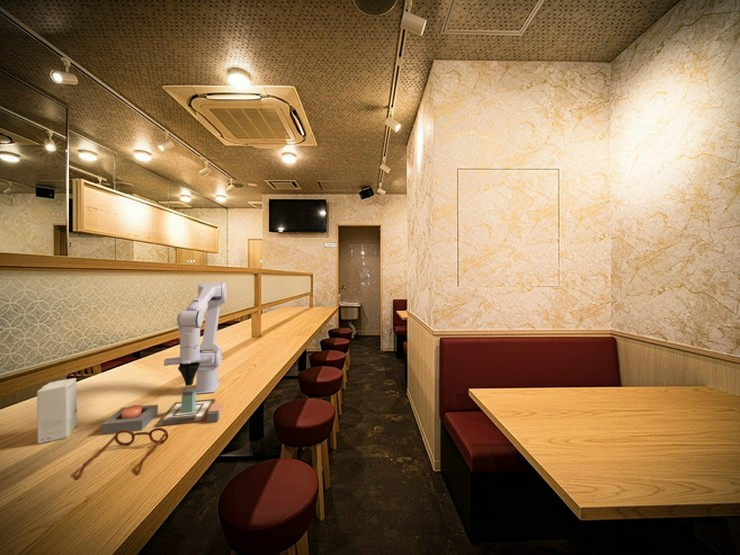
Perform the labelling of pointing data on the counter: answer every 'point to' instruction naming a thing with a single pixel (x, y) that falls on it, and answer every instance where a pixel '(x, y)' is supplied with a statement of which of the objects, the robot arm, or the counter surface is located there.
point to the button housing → (129, 420)
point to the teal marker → (188, 400)
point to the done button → (132, 412)
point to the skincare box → (56, 410)
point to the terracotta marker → (215, 412)
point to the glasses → (128, 444)
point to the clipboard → (186, 414)
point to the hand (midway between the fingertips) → (189, 384)
